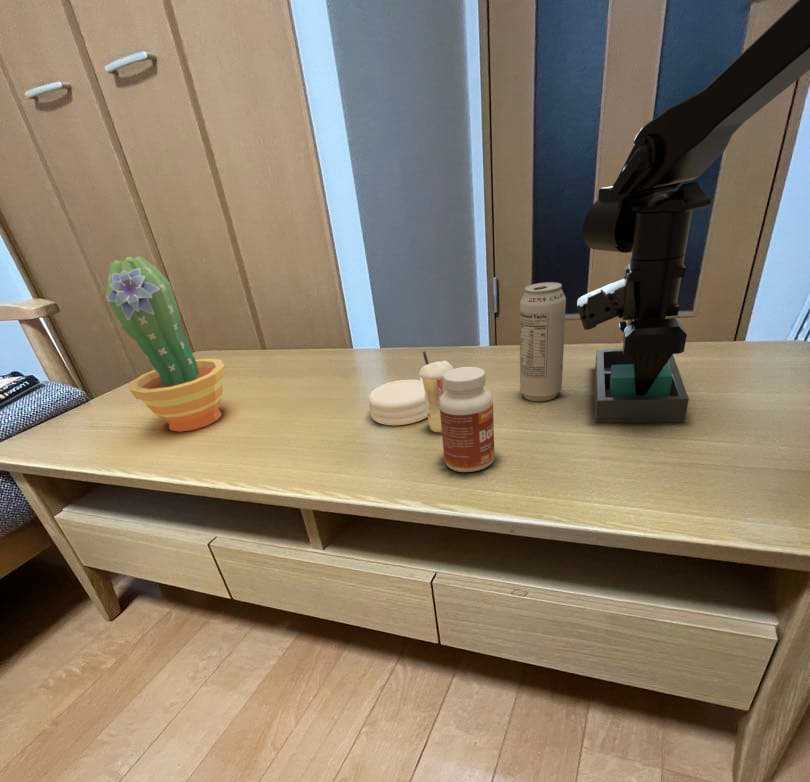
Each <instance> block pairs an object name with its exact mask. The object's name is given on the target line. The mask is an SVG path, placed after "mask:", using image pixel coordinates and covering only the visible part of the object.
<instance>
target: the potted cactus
mask: <svg viewBox="0 0 810 782" xmlns="http://www.w3.org/2000/svg"><path fill="white" fill-rule="evenodd" d="M105 296H106V297H105V299H106V301H107V304H108V305H109V306H110V308H111V310H112V312H113V314H114V316H115V318H116V320H117V322H118V324H119V326H120V328H121V329H122V330H123V331H124V332H125V333H126V334H127V335H128V336H129V337H130V338H131V339H132V340H133V341H134V342H135V343H136V344H137V345H138V347H139V348H140V350H141V351H142V353H143V354H144V356H145V357H146V358H147V360H148V361H149V363H150V365H151V366H152V367H153V370H150V371H148V372H144V373H143V374H140V375H139V376H137V378H135V379H133V380H132V381H131V382H129V391H130V393H131V394H132V395H133V397H134V398H135V399H137V400H141V401H142V402H143V404H144V405H146V407H147V408H148V409H149V410H150V411H151V412H152V413H153V414H154V415H155V416H157V417H159V419H162V420H164V422H166V423H167V424H168V427H169V431H174V432H189V431H195V430H198V429H201V428H204V427H207V426H209V425H211V424H213V423H215V422H217V421H218V420H219V419H220V417H221V416H222V412H221V410H220V409H219V408H220V404H221V401H222V399H223V398H222V397H223V395H224V394H223V391H224V390H223V378H224V377H225V376H226V369H225V368H226V366H225V364H224V363H223V361H222V360H221V359H216V358H199V359H195V356H194V353H193V351H192V349H191V347H190V345H189V343H188V340H187V338H186V336H185V334H184V332H183V330H182V326H181V318H180V310H179V307H178V303H177V301H176V297H175V294H174V291H173V287H172V285H171V282H170V281H169V280H168V279H167V278H166V276H165V275H164V274H163V273H162V272H161V271H160V270H159V269H158V268H157V267H155V266H154V265H153V264H152V263H150V262H149V261H148V260H147V259H145V258H144V257H143V256H141V255H140V254H138V256H136V257H134V258H133V257H132V256H127V257H126V258H125V259H124V260H117V259H114V260H113V262H110V266H109V273H108V279H107V285H106V295H105Z"/></svg>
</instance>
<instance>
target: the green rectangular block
mask: <svg viewBox="0 0 810 782" xmlns="http://www.w3.org/2000/svg"><path fill="white" fill-rule="evenodd" d="M672 377H673V376H672V373H671V370H670V367H669V364H668V363H666V365H665V366H664V367H663V369H662V370H661V372H660V373H659V375H658V376H657V378H656V379H655V381H654V382H653V384H652V386H651V387H650V389H649V390H648V392H647V393H646V395H644V396H637V395H636V389H635V375H634V364H626V365H612V366H611V375H610V385H609V397H662V396H669V394H670V389H671V383H672Z"/></svg>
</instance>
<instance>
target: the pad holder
mask: <svg viewBox="0 0 810 782" xmlns="http://www.w3.org/2000/svg"><path fill="white" fill-rule="evenodd" d="M667 363H668V364H669V367H670V370H671V373H672V376H673V377H672V383H671V389H670V394H669V396H662V397H609V385H610V375H611V366H612V365H626V364H632V357H631V356H628V355H624V354H623V348H618V349H617V348H616V349H597V350H596V353H595V366H594V400H595V401H594V403H595V404H594V405H595V406H594V407H595V409H594V410H595V411H594V412H595V419H594V420H595V424H620V423H621V424H622V423H623V424H625V423H627V424H632V423H633V424H634V423H637V424H639V423H640V424H641V423H649V424H652V423H654V424H655V423H658V424H659V423H685V420H686V417H687V416H686V415H687V410H688V406H689V400H690V398H689V395H688V393H687V391H686V387H685V384H684V382H683V379H682V376H681V373H680V370H679V368H678V365H677V362H676V359H675V356H674V354H673V355H672V356H671V358H670V359H669V360H668V362H667Z"/></svg>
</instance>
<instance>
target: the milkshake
mask: <svg viewBox="0 0 810 782" xmlns="http://www.w3.org/2000/svg"><path fill="white" fill-rule="evenodd" d="M422 357H423V360H424V364H425V365H423V366H422V367H421V369H420V370H419V372H418V375H419V380H420V381H421V384H422V389H423V393H424V399H425V404H426V409H427V414H428V417H427V419H428V424H429V430H430V431H432V432H434V433H441V434H442V428H441V418H440V408H439V401H440V398H441V396H442V395H443V393H445V392H446V390H445V388H444V382H443V375H444V374H445V373H446V372H447V371H449V370H452V369H455V368H454V367H453V365H452V364H451V363H449V362H448V361H447V360H441V361H434V362H430V363H429V359H428V356H427V352H426V351H422Z"/></svg>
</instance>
